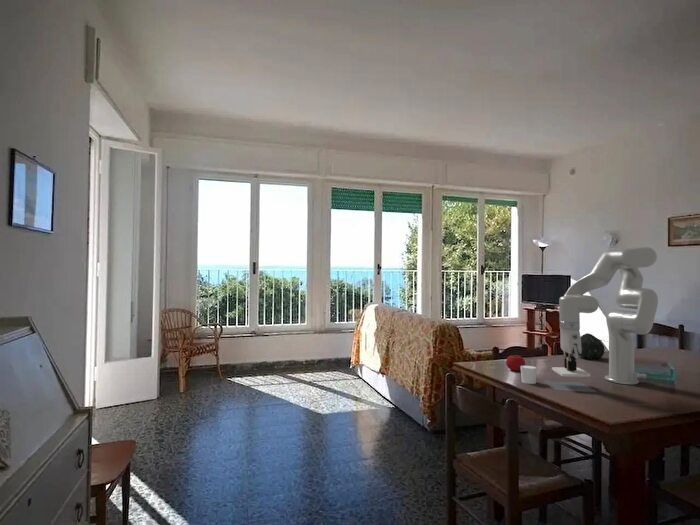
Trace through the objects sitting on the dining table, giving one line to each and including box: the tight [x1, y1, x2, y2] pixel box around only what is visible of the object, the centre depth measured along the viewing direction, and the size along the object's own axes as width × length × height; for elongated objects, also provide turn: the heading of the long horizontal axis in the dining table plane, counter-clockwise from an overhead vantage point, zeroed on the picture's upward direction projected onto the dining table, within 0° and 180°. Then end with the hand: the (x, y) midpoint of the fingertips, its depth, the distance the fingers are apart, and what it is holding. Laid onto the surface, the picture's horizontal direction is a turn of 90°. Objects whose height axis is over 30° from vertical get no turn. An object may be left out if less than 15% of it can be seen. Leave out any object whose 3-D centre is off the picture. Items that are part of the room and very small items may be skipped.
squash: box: [578, 332, 606, 360], centre depth 234 cm, size 14×15×15 cm
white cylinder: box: [520, 364, 538, 385], centre depth 180 cm, size 7×7×7 cm
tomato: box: [505, 353, 526, 372], centre depth 202 cm, size 9×9×8 cm
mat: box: [543, 380, 598, 393], centre depth 174 cm, size 16×14×1 cm
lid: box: [551, 357, 591, 378], centre depth 174 cm, size 11×11×6 cm
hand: (570, 368), depth 174 cm, fingers closed on lid, 2 cm apart
